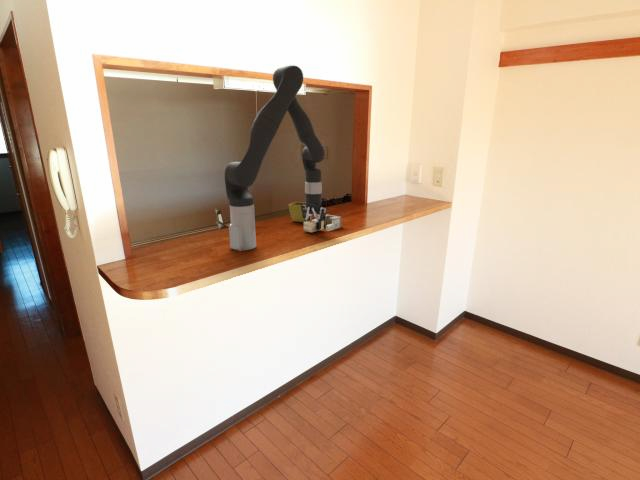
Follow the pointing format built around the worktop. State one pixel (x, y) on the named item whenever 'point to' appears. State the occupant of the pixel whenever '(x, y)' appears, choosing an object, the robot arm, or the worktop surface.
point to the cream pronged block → (312, 225)
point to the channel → (332, 222)
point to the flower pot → (296, 211)
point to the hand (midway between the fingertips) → (313, 228)
